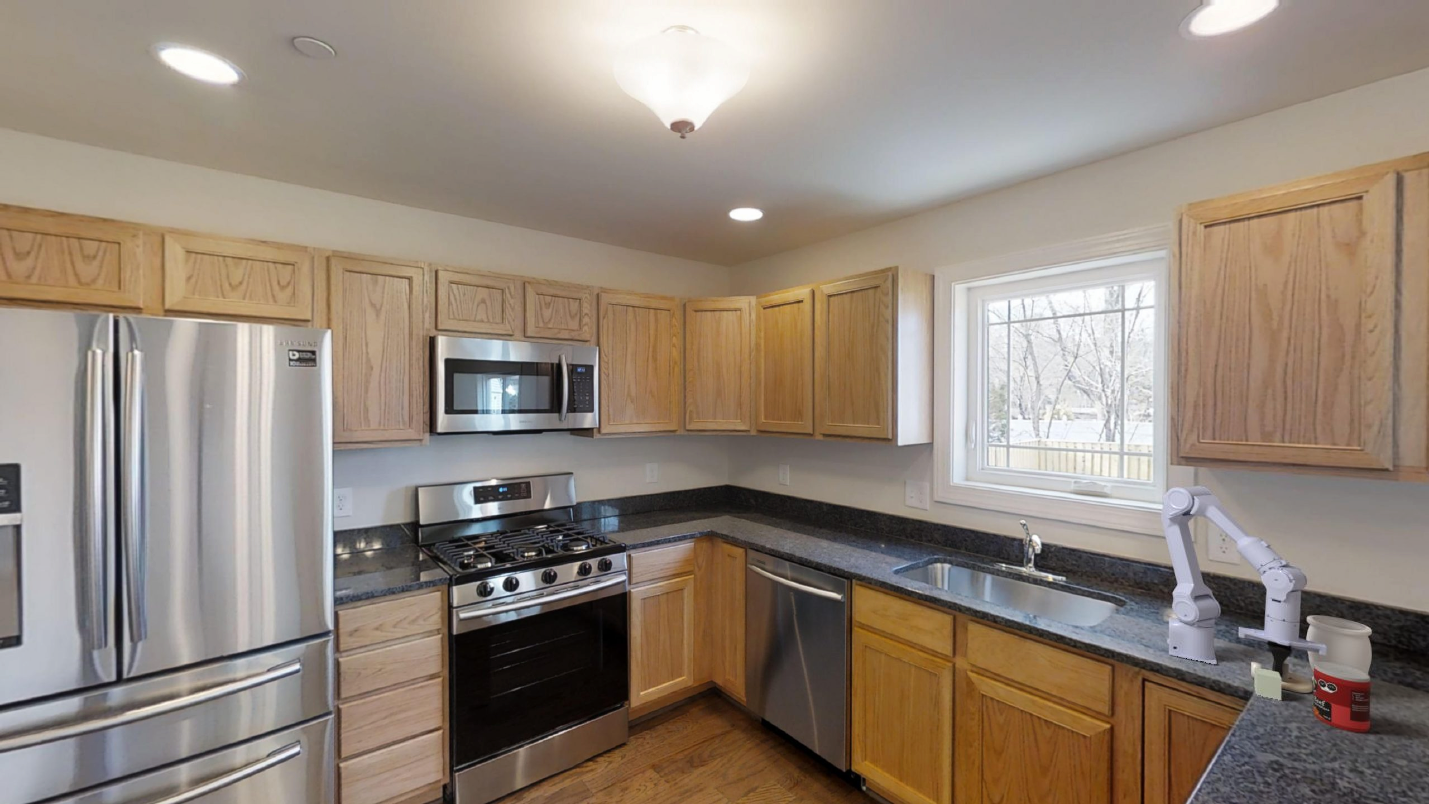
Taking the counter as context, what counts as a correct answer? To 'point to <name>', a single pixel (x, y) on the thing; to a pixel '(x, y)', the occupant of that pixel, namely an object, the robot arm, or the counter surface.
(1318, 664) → the canned food
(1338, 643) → the jar
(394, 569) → the counter surface
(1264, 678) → the link block
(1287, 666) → the disc
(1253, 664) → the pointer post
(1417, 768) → the counter surface
